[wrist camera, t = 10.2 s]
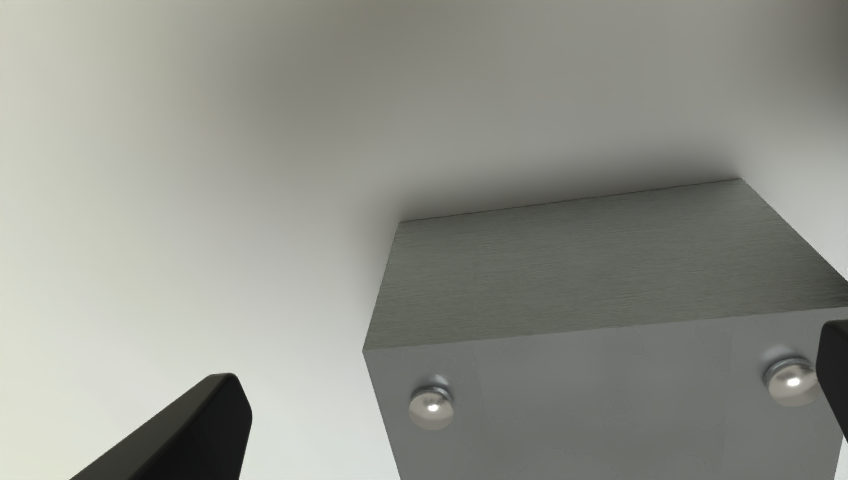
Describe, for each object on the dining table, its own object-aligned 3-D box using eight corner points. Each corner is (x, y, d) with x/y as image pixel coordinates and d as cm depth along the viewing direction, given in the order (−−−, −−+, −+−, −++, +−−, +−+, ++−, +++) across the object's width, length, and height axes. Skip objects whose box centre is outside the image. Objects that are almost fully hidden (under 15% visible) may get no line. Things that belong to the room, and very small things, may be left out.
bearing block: (398, 222, 21) (359, 360, 15) (741, 178, 19) (882, 314, 13) (443, 417, 26) (429, 591, 19) (725, 397, 24) (821, 584, 17)
